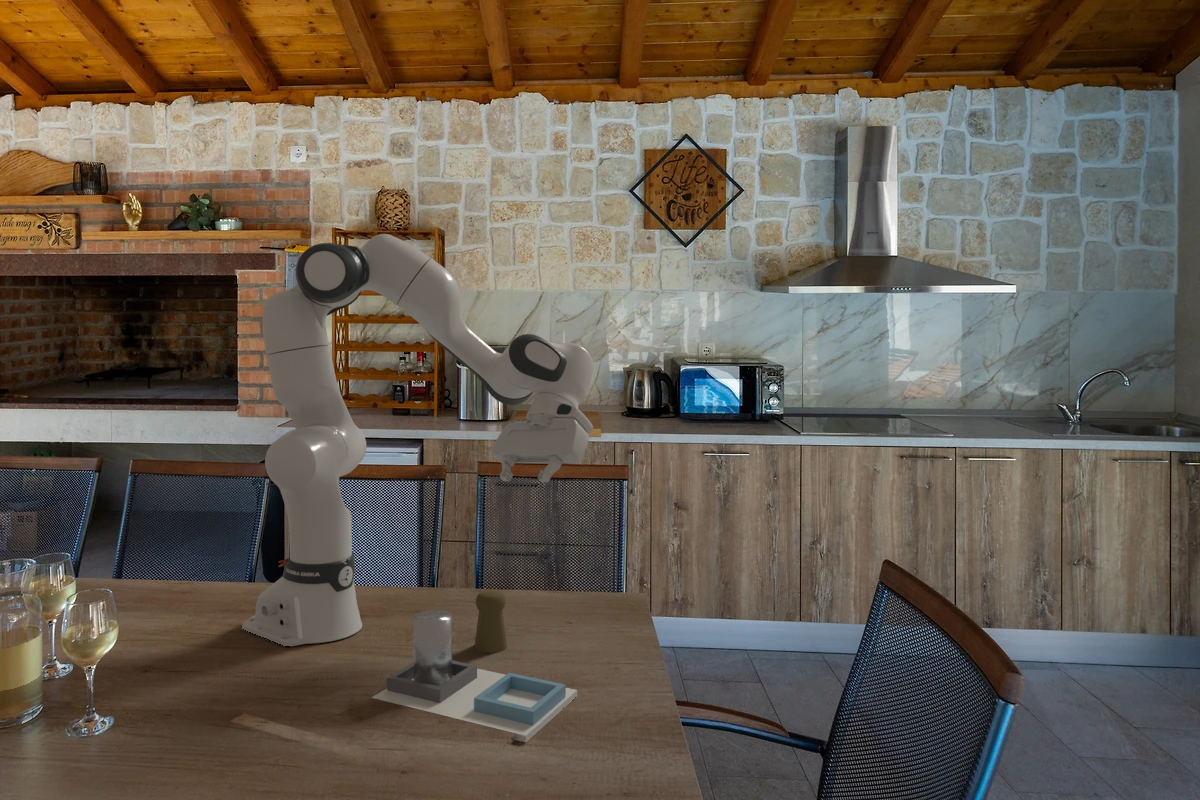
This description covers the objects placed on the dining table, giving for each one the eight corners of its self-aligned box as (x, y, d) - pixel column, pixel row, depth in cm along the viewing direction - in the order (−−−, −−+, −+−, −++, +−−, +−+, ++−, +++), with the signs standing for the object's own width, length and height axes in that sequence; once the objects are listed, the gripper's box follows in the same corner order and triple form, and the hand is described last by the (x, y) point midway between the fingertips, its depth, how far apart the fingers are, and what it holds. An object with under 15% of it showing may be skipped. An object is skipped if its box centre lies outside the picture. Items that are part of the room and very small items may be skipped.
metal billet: (405, 687, 129) (404, 619, 128) (428, 673, 135) (428, 607, 134) (437, 695, 127) (436, 625, 126) (459, 680, 132) (459, 613, 131)
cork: (501, 660, 143) (501, 598, 142) (468, 657, 144) (468, 595, 143) (512, 647, 149) (512, 587, 148) (480, 644, 150) (480, 584, 149)
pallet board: (371, 703, 126) (371, 684, 126) (434, 665, 140) (434, 647, 140) (525, 742, 115) (525, 721, 114) (577, 696, 129) (577, 677, 129)
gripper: (501, 410, 163) (472, 470, 156) (583, 406, 150) (556, 471, 143) (519, 429, 167) (492, 488, 160) (600, 426, 154) (575, 490, 147)
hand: (523, 480), depth 152 cm, fingers open, 8 cm apart
